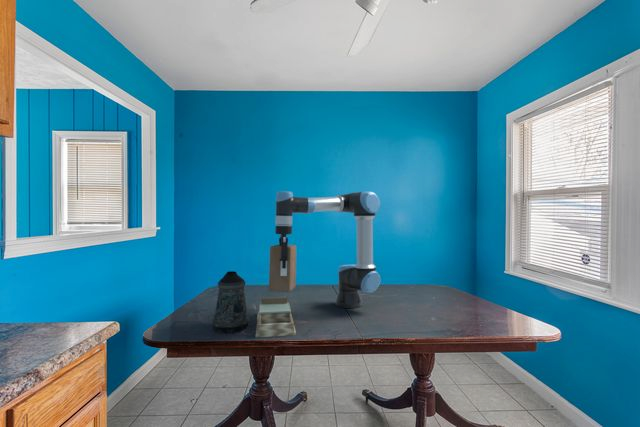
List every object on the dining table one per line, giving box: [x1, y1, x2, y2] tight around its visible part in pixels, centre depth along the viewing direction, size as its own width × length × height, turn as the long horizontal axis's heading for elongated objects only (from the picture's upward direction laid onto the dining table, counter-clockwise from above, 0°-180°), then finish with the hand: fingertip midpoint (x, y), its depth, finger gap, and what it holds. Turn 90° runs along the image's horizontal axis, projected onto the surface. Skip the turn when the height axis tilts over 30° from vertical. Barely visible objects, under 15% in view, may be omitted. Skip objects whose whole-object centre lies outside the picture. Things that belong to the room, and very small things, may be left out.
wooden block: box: [268, 244, 297, 293], centre depth 141 cm, size 10×10×20 cm
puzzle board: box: [255, 306, 297, 338], centre depth 147 cm, size 17×32×5 cm, turn 10°
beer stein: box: [211, 270, 251, 335], centre depth 143 cm, size 16×19×25 cm
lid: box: [258, 296, 292, 314], centre depth 153 cm, size 15×15×4 cm
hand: (282, 273), depth 141 cm, fingers closed on wooden block, 12 cm apart
